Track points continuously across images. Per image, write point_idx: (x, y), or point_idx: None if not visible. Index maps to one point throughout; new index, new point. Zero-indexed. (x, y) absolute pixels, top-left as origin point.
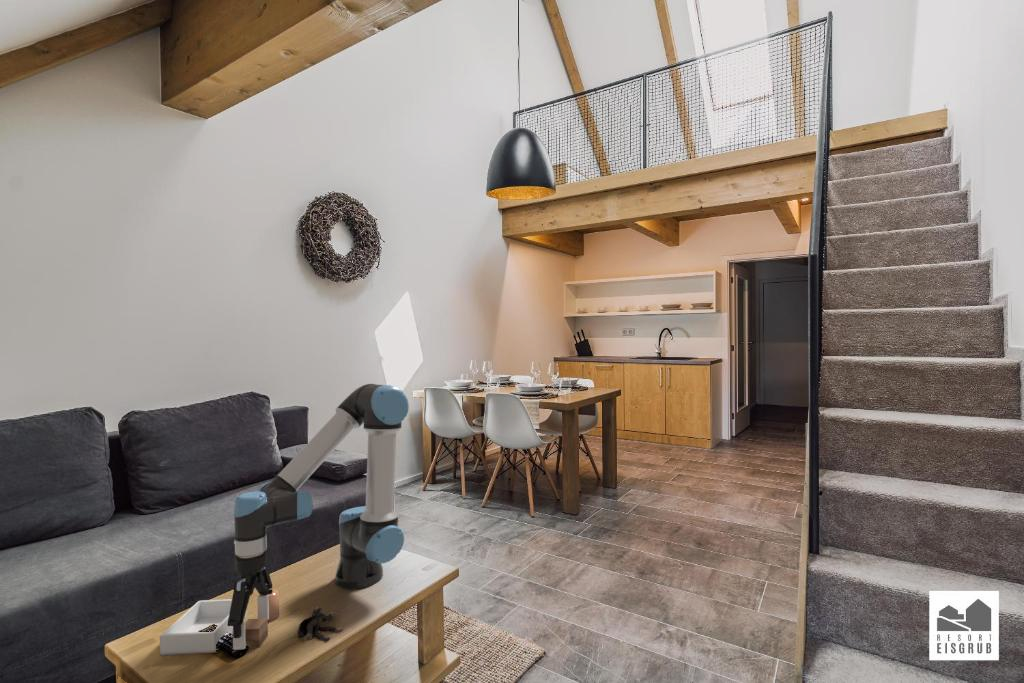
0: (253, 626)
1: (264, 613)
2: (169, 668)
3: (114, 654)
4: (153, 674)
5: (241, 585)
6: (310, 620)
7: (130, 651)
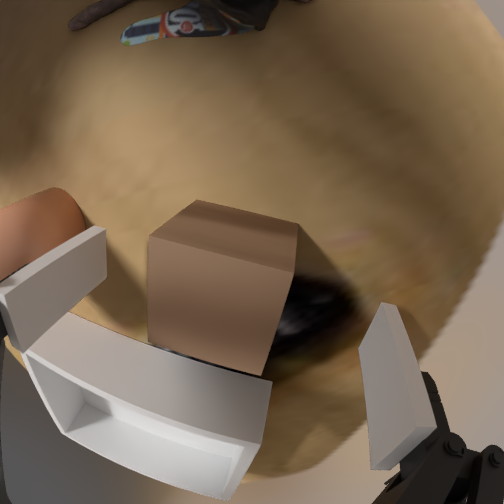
0: (248, 311)
1: (83, 260)
2: (312, 447)
3: None
4: (323, 460)
5: None
6: None
7: None
